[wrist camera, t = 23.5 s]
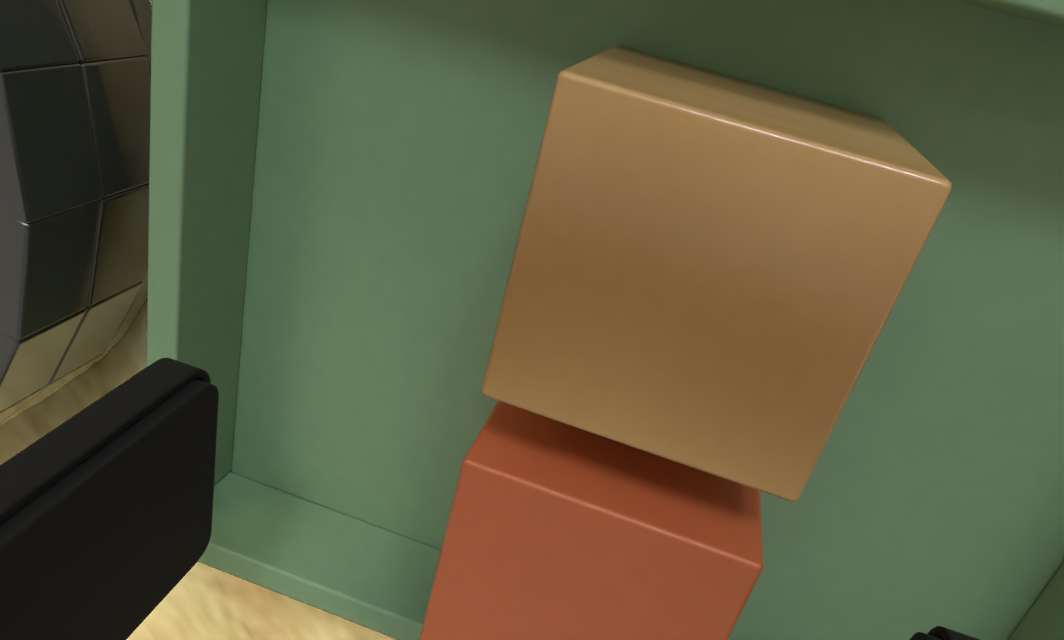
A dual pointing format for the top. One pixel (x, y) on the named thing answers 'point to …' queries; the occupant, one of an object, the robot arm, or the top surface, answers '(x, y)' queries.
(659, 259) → the maple block
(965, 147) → the tray
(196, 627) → the top surface
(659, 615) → the terracotta block
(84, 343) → the pan
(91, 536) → the robot arm
